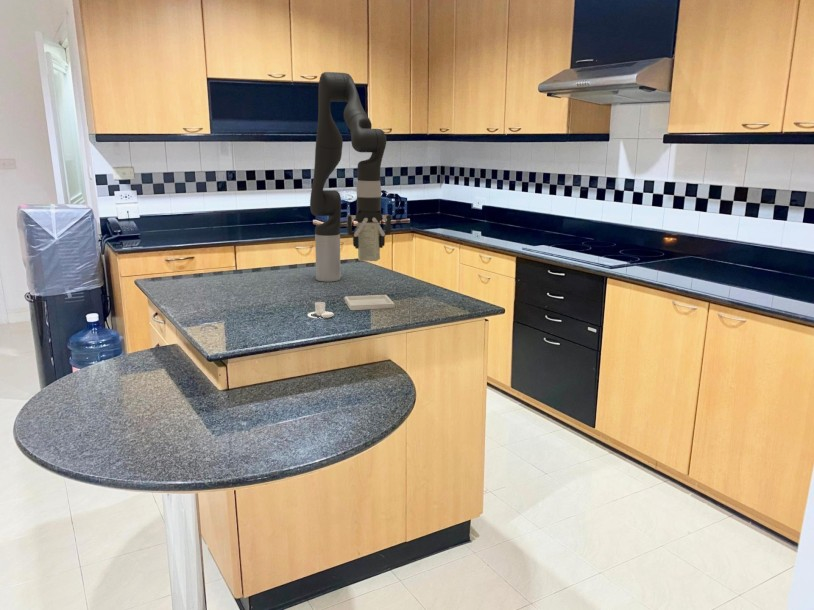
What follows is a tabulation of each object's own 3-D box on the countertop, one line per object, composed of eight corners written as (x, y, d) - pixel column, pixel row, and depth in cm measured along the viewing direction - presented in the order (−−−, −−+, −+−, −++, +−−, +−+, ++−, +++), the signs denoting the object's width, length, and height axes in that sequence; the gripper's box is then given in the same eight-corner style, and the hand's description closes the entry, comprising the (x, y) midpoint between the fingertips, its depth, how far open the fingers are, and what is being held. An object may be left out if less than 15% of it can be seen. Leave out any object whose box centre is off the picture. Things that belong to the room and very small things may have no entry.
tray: (344, 300, 212) (344, 296, 211) (386, 299, 215) (386, 294, 215) (350, 310, 200) (350, 305, 200) (394, 308, 204) (394, 303, 203)
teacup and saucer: (336, 319, 192) (336, 306, 191) (309, 321, 189) (309, 308, 188) (331, 312, 200) (331, 299, 199) (305, 313, 198) (305, 300, 196)
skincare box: (380, 259, 206) (380, 221, 202) (376, 261, 201) (376, 223, 198) (361, 258, 207) (361, 220, 204) (357, 260, 203) (357, 222, 200)
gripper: (388, 194, 204) (388, 245, 208) (344, 194, 201) (344, 246, 205) (394, 196, 197) (393, 249, 201) (347, 196, 194) (348, 250, 198)
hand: (368, 247), depth 203 cm, fingers closed on skincare box, 7 cm apart
